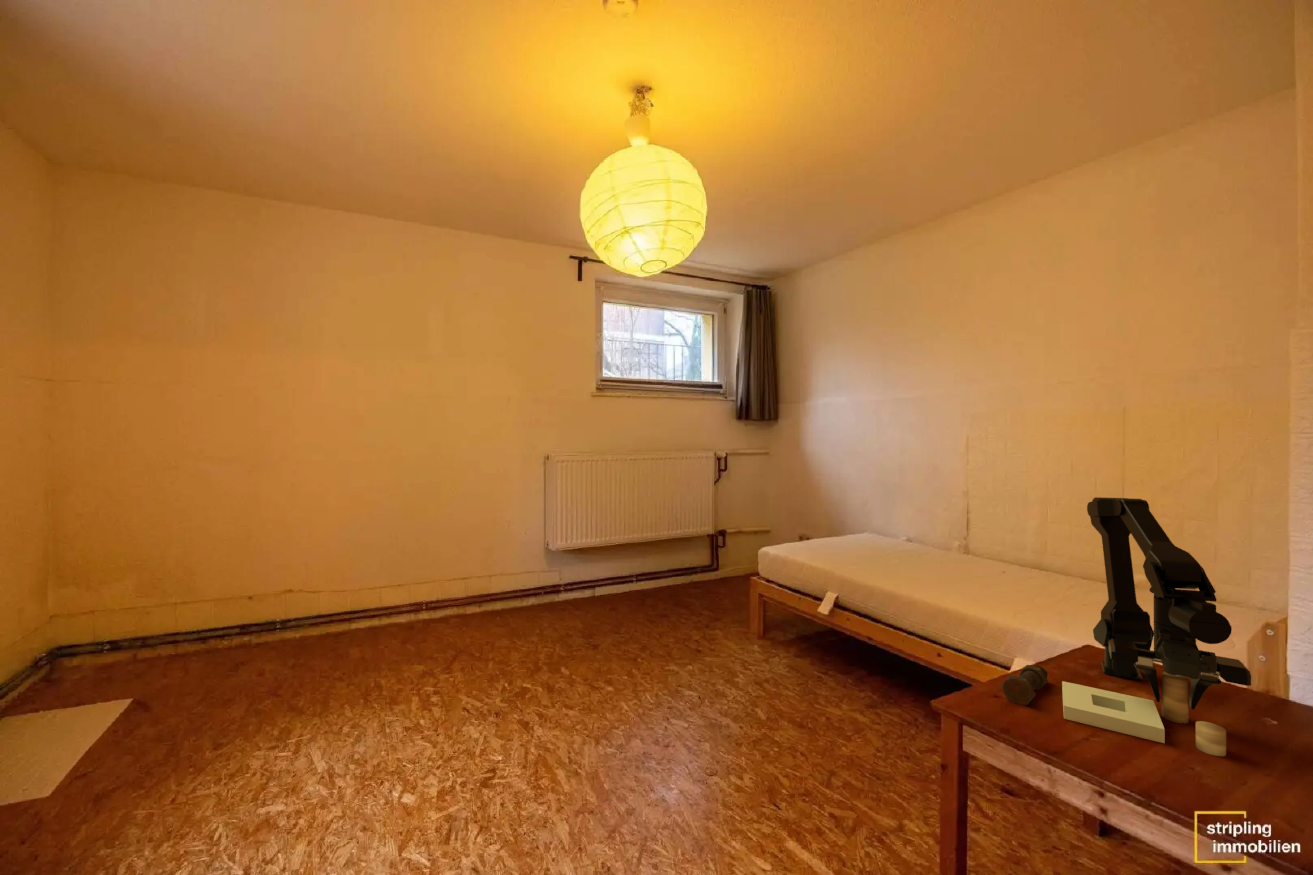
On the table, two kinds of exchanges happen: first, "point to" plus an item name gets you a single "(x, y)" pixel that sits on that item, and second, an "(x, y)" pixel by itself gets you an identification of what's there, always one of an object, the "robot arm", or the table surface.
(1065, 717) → the board
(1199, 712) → the table surface
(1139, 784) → the table surface
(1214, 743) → the short pin
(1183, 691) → the long pin
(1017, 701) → the bolt
